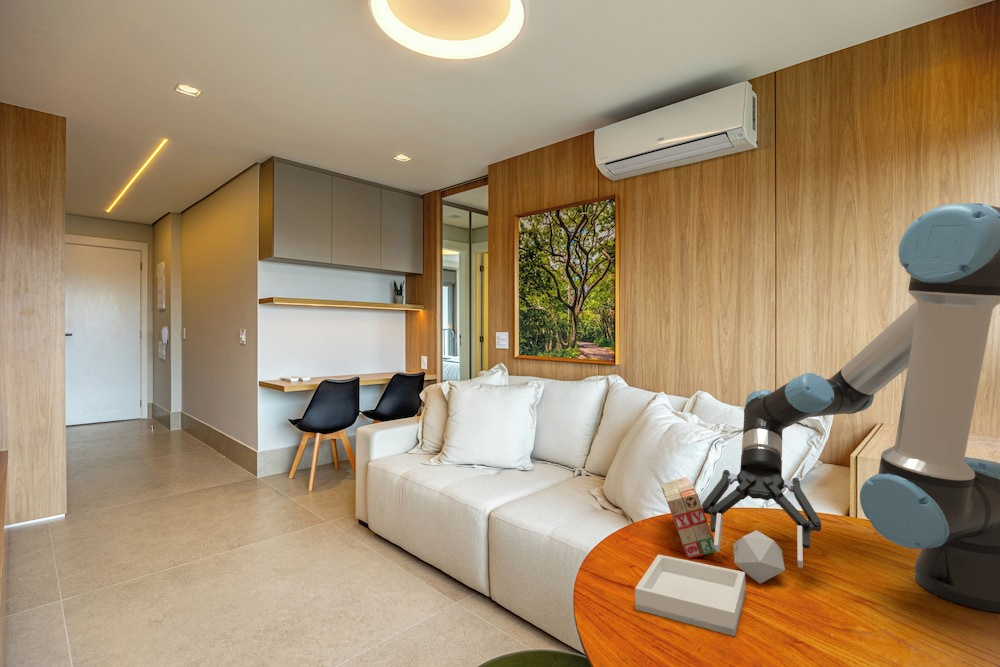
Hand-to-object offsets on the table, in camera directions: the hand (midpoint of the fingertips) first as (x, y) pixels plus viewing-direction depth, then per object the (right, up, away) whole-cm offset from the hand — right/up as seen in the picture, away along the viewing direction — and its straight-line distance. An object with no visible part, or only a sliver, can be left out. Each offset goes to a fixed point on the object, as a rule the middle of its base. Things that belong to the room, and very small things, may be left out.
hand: (756, 556), depth 91 cm
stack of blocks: (-4, -4, +20) cm, 20 cm away
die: (+1, -5, +2) cm, 5 cm away
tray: (-14, -5, -6) cm, 16 cm away
